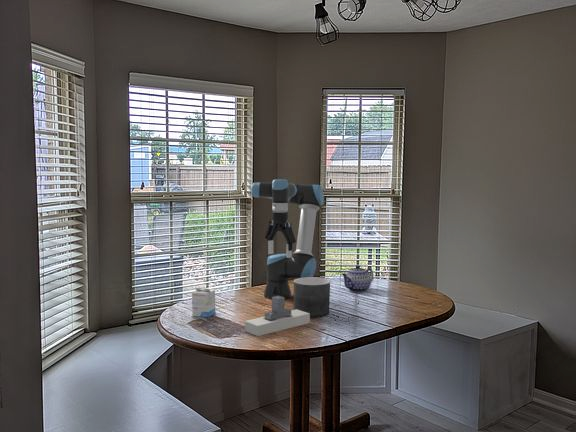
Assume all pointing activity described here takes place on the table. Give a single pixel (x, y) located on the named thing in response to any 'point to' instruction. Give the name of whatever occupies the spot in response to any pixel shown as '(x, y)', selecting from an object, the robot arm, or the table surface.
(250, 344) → the table surface
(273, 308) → the clip
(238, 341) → the table surface
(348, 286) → the teapot
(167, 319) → the table surface
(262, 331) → the rail
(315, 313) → the dark gray cylinder
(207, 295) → the ink box
